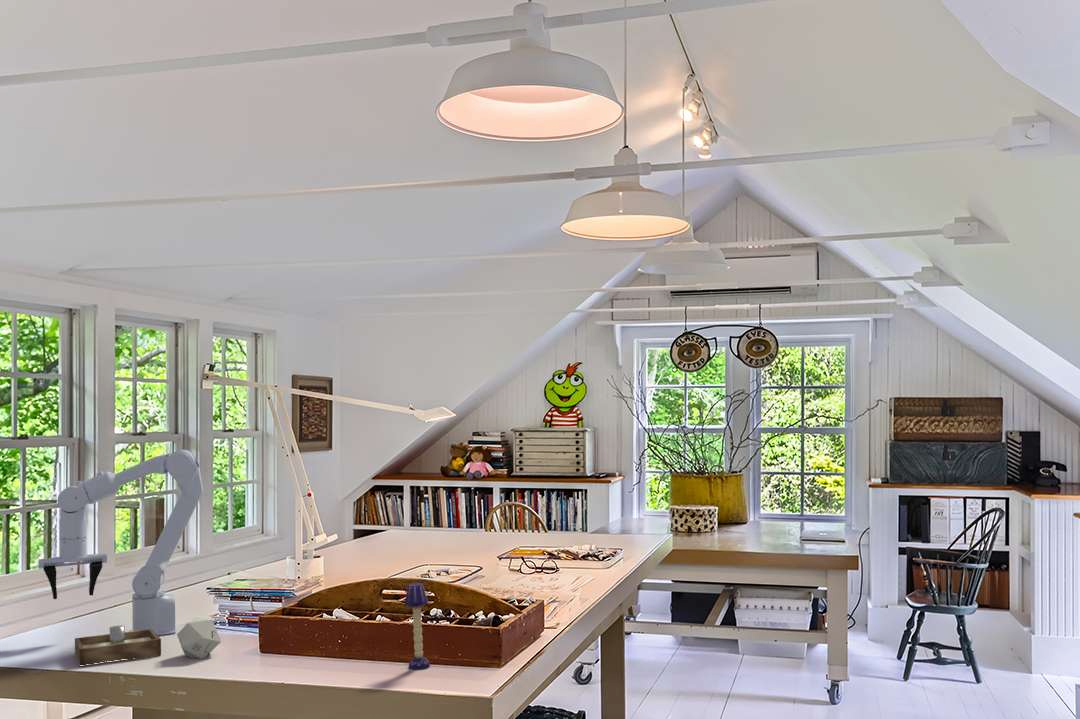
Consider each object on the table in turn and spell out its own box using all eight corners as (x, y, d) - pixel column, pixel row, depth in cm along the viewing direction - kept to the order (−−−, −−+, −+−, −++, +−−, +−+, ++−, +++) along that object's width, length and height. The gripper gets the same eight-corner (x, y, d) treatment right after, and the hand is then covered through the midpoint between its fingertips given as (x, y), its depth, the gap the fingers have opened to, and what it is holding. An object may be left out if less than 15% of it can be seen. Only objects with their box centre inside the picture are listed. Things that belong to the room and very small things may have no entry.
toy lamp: (419, 671, 202) (417, 586, 203) (400, 668, 204) (399, 584, 205) (434, 665, 206) (432, 582, 207) (416, 662, 209) (414, 581, 209)
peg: (117, 652, 222) (116, 625, 223) (127, 653, 221) (127, 626, 222) (106, 656, 220) (106, 628, 220) (117, 657, 219) (117, 629, 219)
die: (179, 666, 212) (207, 628, 213) (162, 640, 217) (189, 604, 218) (208, 671, 219) (235, 635, 219) (191, 646, 224) (217, 611, 224)
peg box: (152, 644, 230) (152, 628, 230) (161, 655, 219) (160, 639, 219) (74, 654, 222) (74, 638, 222) (80, 666, 211) (79, 649, 211)
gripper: (104, 533, 244) (104, 590, 244) (37, 538, 237) (37, 597, 236) (108, 536, 238) (108, 595, 237) (39, 542, 231) (39, 602, 230)
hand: (73, 596), depth 236 cm, fingers open, 7 cm apart
